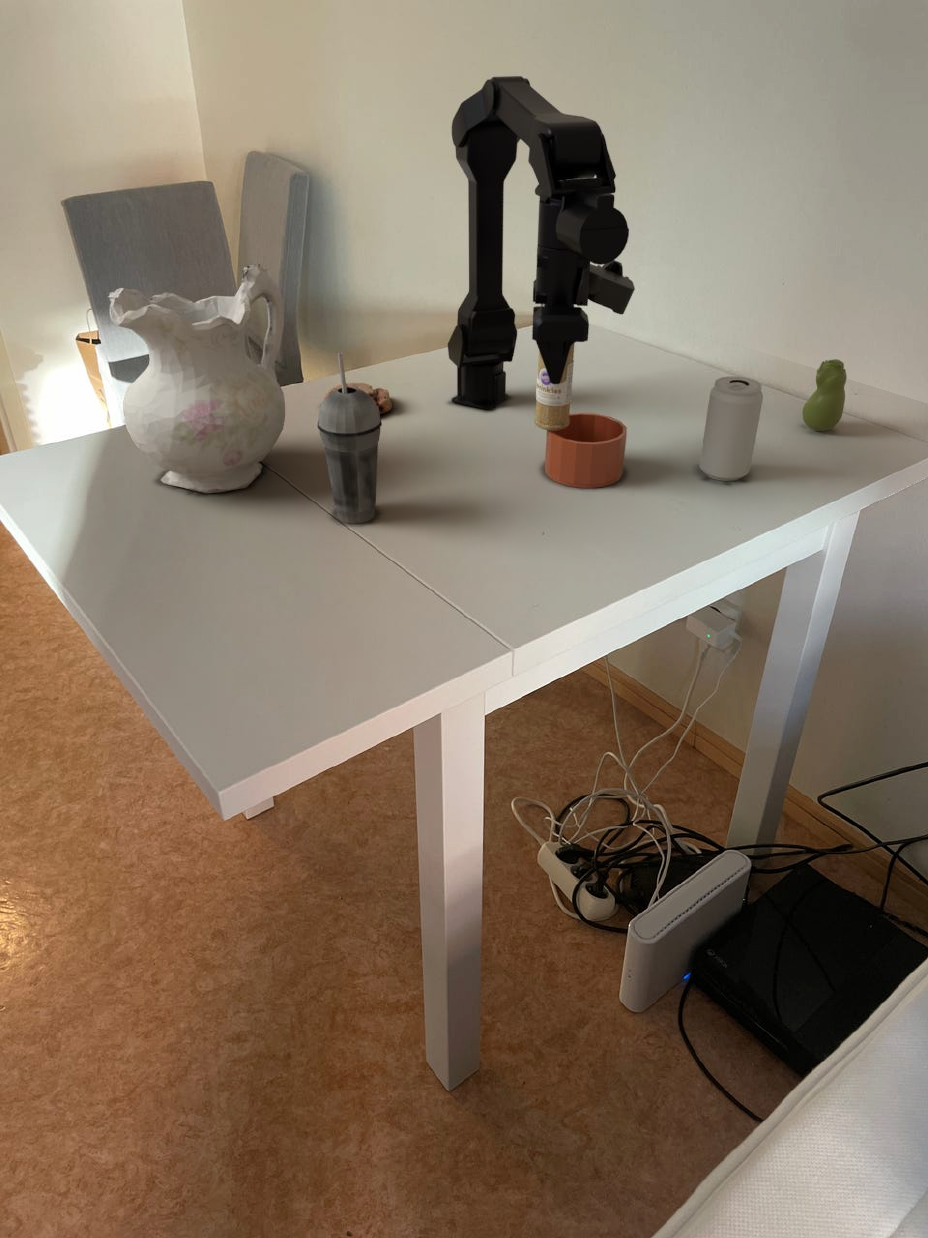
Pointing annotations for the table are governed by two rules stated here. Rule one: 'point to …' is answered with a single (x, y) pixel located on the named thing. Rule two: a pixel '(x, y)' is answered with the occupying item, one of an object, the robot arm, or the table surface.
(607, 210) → the robot arm
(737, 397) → the beverage can
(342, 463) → the beverage cup
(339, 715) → the table surface
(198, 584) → the table surface
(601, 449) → the bowl
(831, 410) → the pear
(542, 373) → the sprinkles bottle
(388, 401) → the cookie
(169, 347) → the ceramic pitcher
